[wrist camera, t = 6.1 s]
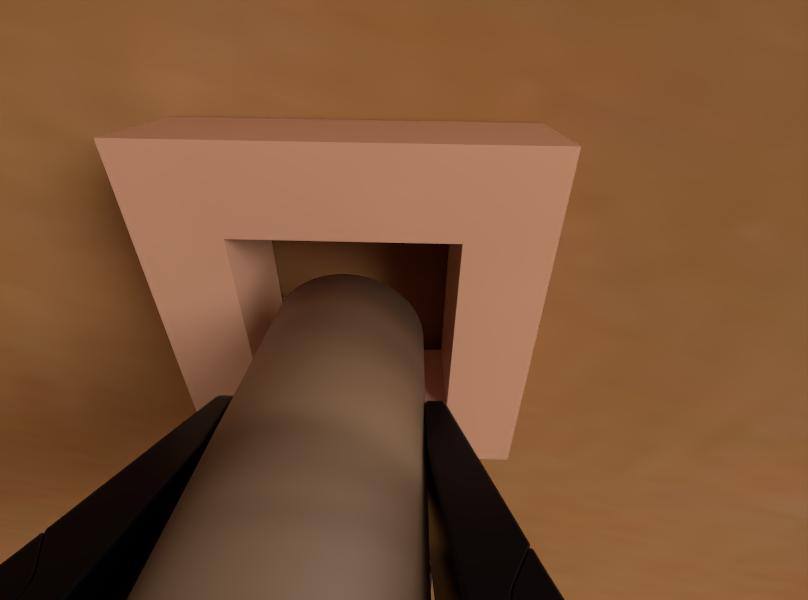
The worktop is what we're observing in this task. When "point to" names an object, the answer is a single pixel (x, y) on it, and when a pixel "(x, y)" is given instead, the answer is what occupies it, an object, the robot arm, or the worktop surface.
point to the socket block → (348, 236)
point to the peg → (311, 463)
